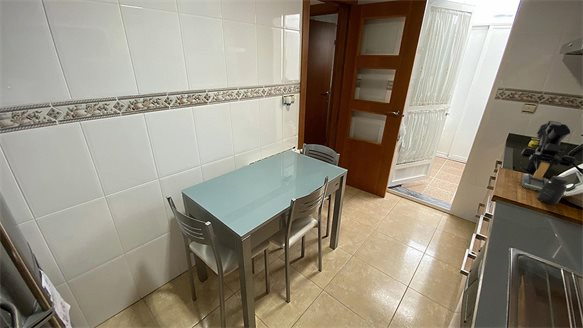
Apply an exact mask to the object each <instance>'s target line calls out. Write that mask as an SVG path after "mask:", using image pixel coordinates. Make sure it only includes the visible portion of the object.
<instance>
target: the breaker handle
mask: <svg viewBox="0 0 583 328" xmlns="http://www.w3.org/2000/svg"><path fill="white" fill-rule="evenodd" d="M548 167H549V163H545V162H541V163H540V165H539V168H538V170H536V172H535V173H533V174H531V179H532V180H536V181H540V182H542V181H543V177H544V175H545V174H546V173H547V172H546V170H547V169H548Z"/></svg>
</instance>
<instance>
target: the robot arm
mask: <svg viewBox="0 0 583 328" xmlns="http://www.w3.org/2000/svg"><path fill="white" fill-rule="evenodd" d="M570 134H571V129H570V128H569V125H567V124H565V123H564V124H563V123H561V122H560V121H555V120H554V121H553V120H548V122H546V123H544V124H542V125H540V126H539V128H538V130H537V132H536V135H537V136H536V138H538V139H540V140H539V145H538V147H537V148H536V149H535V148H531V147H525V148H524V149H523V150H522V152H521V154H520V156H521V157H523V158H528V159H529V161H530V162H528V164H527V166H525V167H523V169H525V170H527V171H529V172H531V173H532V174H535V172H536V170H538V168H539V165H540V163H541V162H545V163H549V167H548V169H547V170H546V172H545V173H547V172H548V171H549V170H550V169H551V168H552V167H554V166H558V165H560V166H564V167H571V166H572V165H573V164H574V163H575V162H576V157H574V156H570V155H563V156H561V157H560V156H558V155H559V153H560V152H561V153H562V152H563V153H565V152H566V150H567V149H568V145H567V144H561V142H562V141H563V140H565V139H566V137H567V136H568V135H570Z"/></svg>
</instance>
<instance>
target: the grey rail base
mask: <svg viewBox="0 0 583 328" xmlns="http://www.w3.org/2000/svg"><path fill="white" fill-rule="evenodd" d="M531 175H532V174H531V173H523V174H522V175H521V179H522V180H521V187H522V186H523V187H522V188H525V187H527V188H526V189H528V188H532V189H536V190H539V191H541V189H542V188H543V186H544V184H545V183H546V182H547V181H550V180H549V179H547V178H546V177H544V176H543V177H542V178H543V181H542V182H540V181H536V180H532V179H531ZM532 189H531V190H532ZM539 191H538V192H539Z"/></svg>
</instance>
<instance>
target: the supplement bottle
mask: <svg viewBox="0 0 583 328" xmlns="http://www.w3.org/2000/svg"><path fill="white" fill-rule="evenodd" d="M568 182H569V179H568V178H565V177H563V176H559V175H552V177H551V178H550V180H549V181H547V182H546V183H545V184H544V186H543V188H542V189H541V191H540V192H539V193H538V195H537V197H538V198H539V199H540V200H542V201H544V202H546V203H545V204H547V203H549V204H548V205H552V204H555V205H557V204H558V203H559V202H560V200H561V198H562V197H563V196H564V194H565V192H566V191H567V189H568V187H567V183H568ZM538 198H537V199H538ZM539 199H538V200H539ZM540 200H539V201H540ZM542 201H541V202H542ZM544 202H543V203H544Z"/></svg>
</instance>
